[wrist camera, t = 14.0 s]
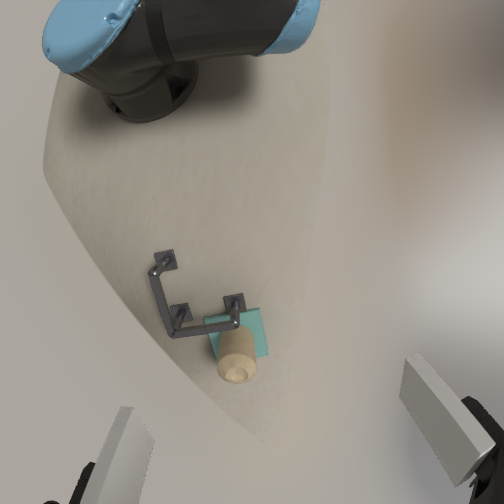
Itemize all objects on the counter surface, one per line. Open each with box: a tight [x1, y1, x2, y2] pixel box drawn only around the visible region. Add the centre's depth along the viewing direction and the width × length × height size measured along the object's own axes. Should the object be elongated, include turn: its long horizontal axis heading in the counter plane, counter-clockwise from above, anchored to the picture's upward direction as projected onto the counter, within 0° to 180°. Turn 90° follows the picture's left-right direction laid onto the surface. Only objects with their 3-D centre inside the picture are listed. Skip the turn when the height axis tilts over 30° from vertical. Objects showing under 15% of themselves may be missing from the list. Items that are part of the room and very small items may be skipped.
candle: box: [217, 325, 257, 384], centre depth 40 cm, size 6×6×10 cm
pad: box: [204, 308, 269, 362], centre depth 45 cm, size 9×9×1 cm
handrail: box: [148, 249, 247, 339], centre depth 39 cm, size 12×12×8 cm
